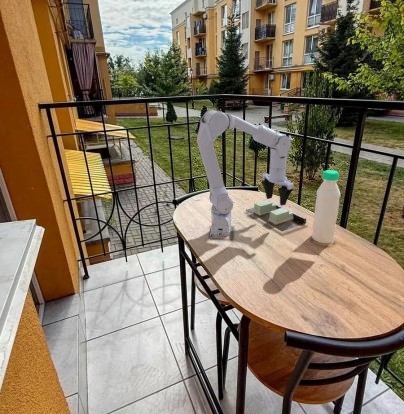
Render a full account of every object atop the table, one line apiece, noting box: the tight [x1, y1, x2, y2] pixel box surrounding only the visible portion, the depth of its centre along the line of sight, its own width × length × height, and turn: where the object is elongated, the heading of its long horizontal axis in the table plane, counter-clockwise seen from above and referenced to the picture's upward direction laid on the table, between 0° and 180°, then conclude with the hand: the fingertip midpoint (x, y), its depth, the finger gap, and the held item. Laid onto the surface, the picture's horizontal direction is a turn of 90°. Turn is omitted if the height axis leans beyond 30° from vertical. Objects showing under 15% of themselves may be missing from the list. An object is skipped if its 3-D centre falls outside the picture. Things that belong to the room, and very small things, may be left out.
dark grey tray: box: [245, 199, 307, 232], centre depth 112 cm, size 12×22×4 cm, turn 28°
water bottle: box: [311, 169, 341, 245], centre depth 92 cm, size 7×7×25 cm
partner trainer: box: [253, 199, 277, 216], centre depth 116 cm, size 9×4×4 cm, turn 118°
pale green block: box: [269, 207, 293, 225], centre depth 108 cm, size 9×4×4 cm, turn 118°
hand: (275, 201), depth 107 cm, fingers open, 7 cm apart
